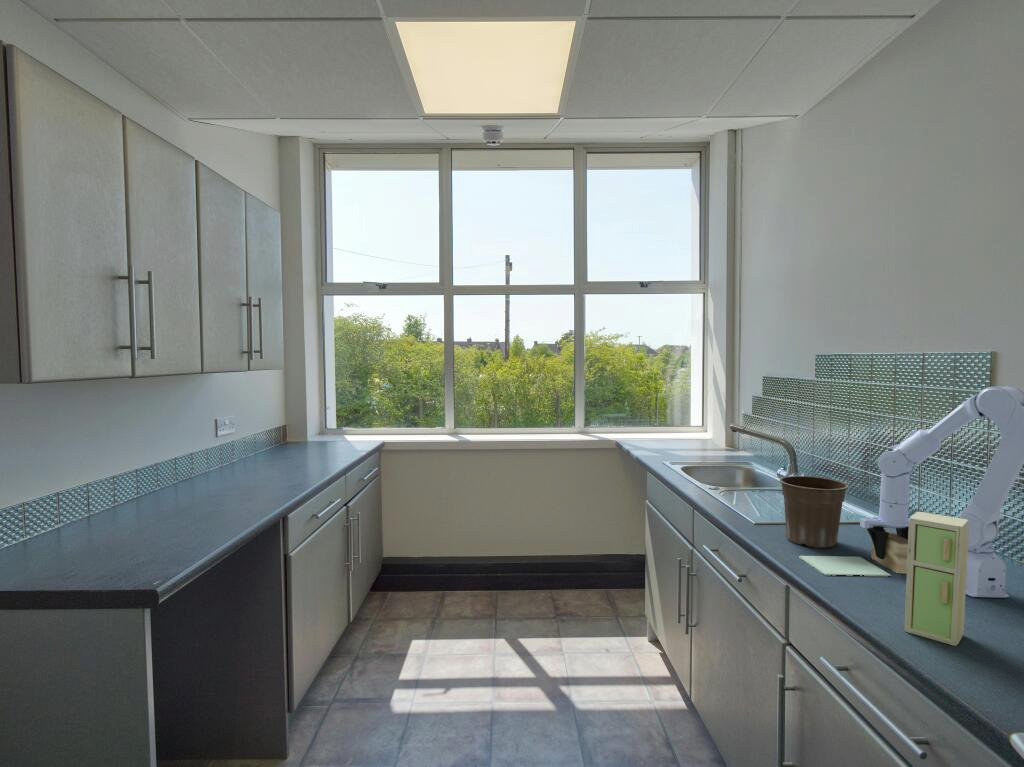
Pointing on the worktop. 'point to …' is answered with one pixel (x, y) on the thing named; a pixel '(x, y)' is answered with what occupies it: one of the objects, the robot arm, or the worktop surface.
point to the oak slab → (894, 553)
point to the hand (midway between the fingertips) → (891, 557)
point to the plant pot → (812, 509)
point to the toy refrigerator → (936, 577)
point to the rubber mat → (843, 566)
